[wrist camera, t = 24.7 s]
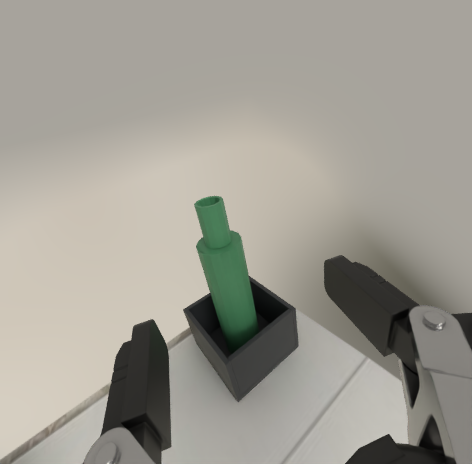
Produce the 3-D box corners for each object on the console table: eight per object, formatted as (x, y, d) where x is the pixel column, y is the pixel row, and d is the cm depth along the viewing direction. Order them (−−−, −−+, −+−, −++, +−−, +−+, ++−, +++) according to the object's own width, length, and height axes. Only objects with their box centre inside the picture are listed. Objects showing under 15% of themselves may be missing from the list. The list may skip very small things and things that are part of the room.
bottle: (253, 322, 39) (225, 188, 28) (266, 349, 35) (239, 202, 24) (223, 334, 38) (182, 200, 27) (232, 363, 34) (187, 217, 23)
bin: (250, 305, 43) (243, 271, 40) (298, 346, 35) (295, 308, 31) (196, 344, 38) (182, 309, 35) (238, 402, 30) (225, 365, 26)
